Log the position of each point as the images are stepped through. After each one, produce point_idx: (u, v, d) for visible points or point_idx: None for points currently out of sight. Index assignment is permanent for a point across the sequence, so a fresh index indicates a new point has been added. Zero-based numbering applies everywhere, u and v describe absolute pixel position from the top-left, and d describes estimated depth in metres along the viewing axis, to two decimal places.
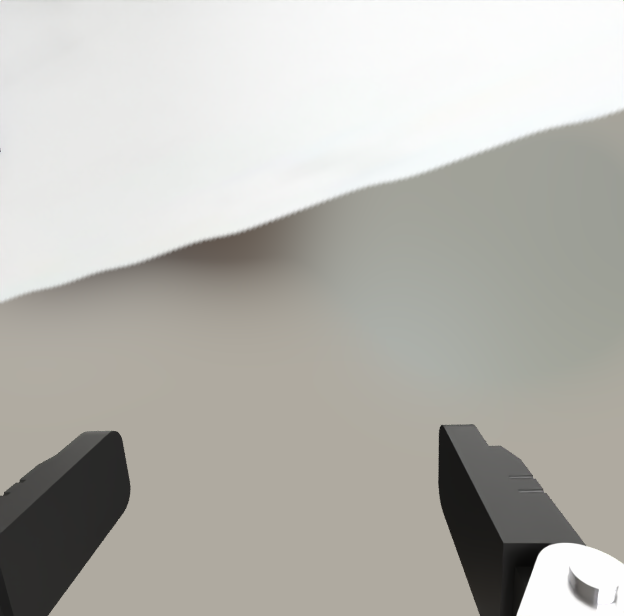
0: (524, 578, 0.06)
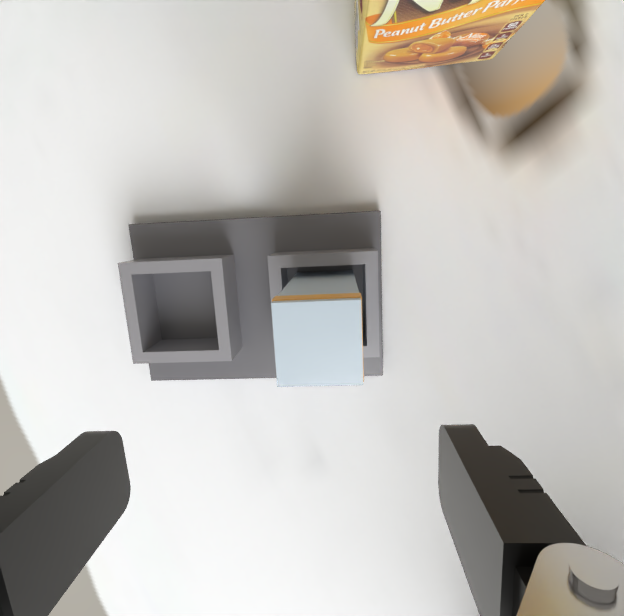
0: (524, 578, 0.06)
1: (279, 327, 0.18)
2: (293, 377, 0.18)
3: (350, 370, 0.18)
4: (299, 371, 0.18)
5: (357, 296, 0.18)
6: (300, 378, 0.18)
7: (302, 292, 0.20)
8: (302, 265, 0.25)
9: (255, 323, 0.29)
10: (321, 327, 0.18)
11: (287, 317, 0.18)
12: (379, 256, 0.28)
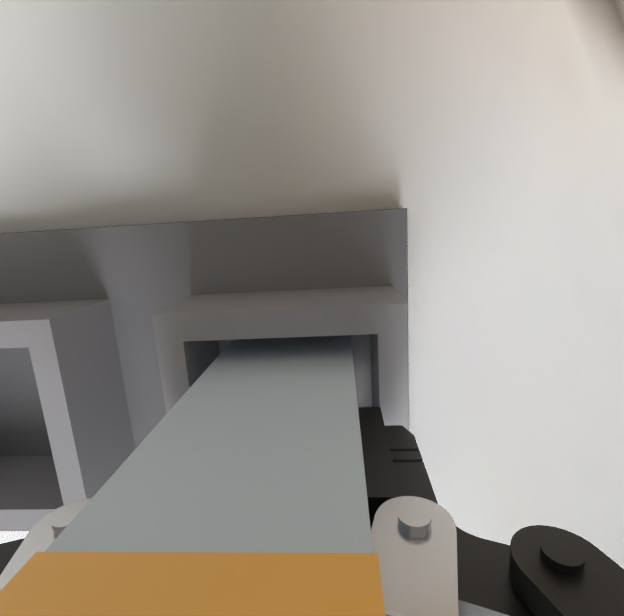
0: None
1: None
2: None
3: None
4: None
5: None
6: None
7: (169, 499, 0.06)
8: (232, 336, 0.11)
9: None
10: None
11: None
12: None
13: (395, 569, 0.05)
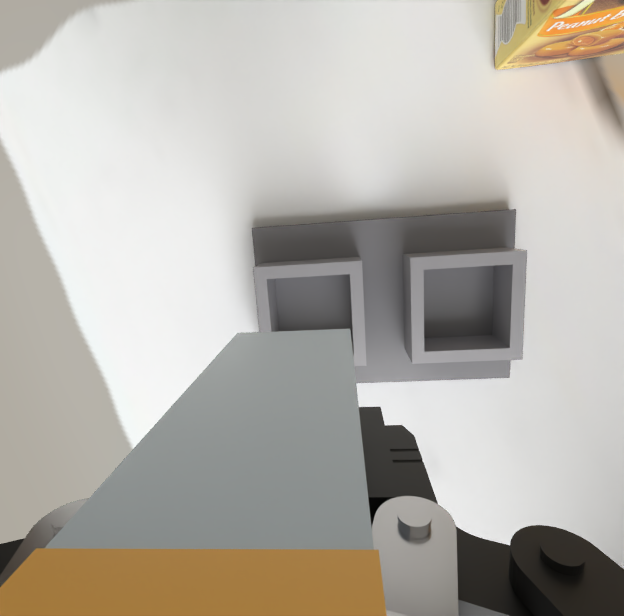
0: None
1: None
2: None
3: None
4: None
5: None
6: None
7: (169, 496, 0.06)
8: (446, 266, 0.25)
9: (379, 326, 0.29)
10: None
11: None
12: None
13: (395, 569, 0.05)
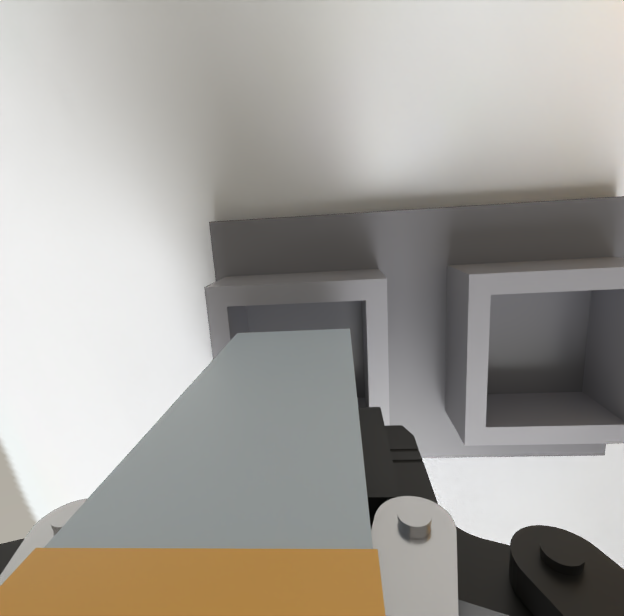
0: None
1: None
2: None
3: None
4: None
5: None
6: None
7: (168, 495, 0.06)
8: (530, 290, 0.14)
9: (406, 376, 0.19)
10: None
11: None
12: None
13: (395, 569, 0.05)
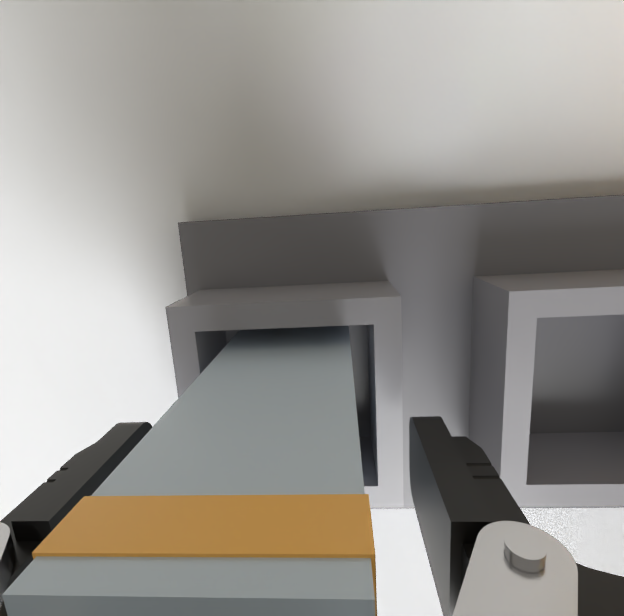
0: (469, 554, 0.06)
1: None
2: None
3: None
4: None
5: (358, 546, 0.05)
6: None
7: (191, 458, 0.07)
8: (589, 312, 0.11)
9: (421, 411, 0.15)
10: None
11: None
12: None
13: (521, 611, 0.05)
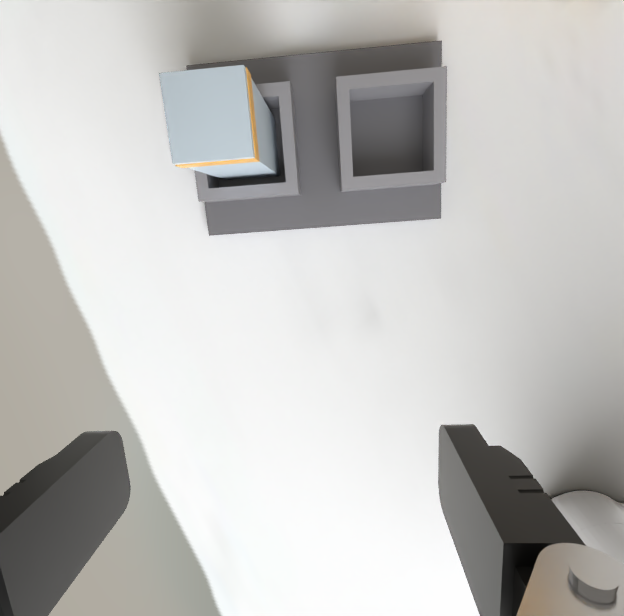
0: (524, 578, 0.06)
1: (169, 99, 0.19)
2: (187, 152, 0.19)
3: (240, 141, 0.19)
4: (192, 145, 0.19)
5: None
6: (193, 153, 0.19)
7: None
8: (371, 85, 0.25)
9: (315, 168, 0.30)
10: (208, 97, 0.19)
11: (176, 87, 0.18)
12: None
13: None
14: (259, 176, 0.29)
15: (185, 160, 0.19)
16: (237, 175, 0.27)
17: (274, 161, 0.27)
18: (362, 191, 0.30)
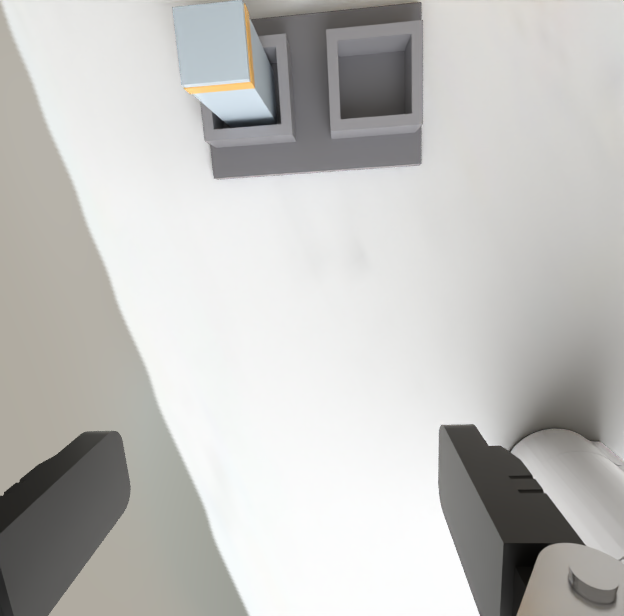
0: (524, 578, 0.06)
1: (180, 29, 0.22)
2: (193, 75, 0.23)
3: (237, 65, 0.23)
4: (198, 69, 0.23)
5: None
6: (199, 75, 0.23)
7: None
8: (356, 37, 0.29)
9: (308, 117, 0.33)
10: (212, 27, 0.22)
11: (185, 19, 0.22)
12: None
13: None
14: (259, 122, 0.33)
15: (192, 82, 0.23)
16: (239, 118, 0.31)
17: (271, 106, 0.31)
18: (350, 138, 0.33)
